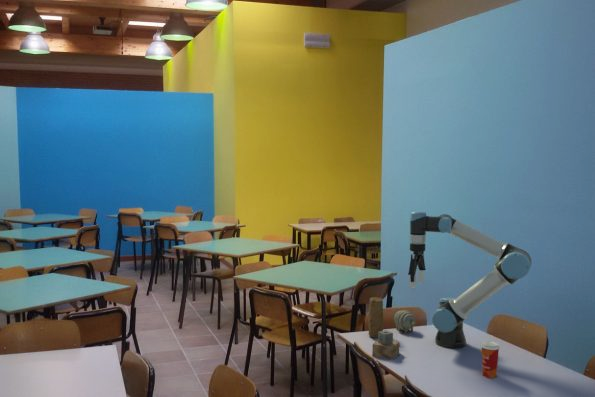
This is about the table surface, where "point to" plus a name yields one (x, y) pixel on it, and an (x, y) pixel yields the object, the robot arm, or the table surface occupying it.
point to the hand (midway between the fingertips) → (416, 285)
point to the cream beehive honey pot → (404, 320)
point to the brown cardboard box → (385, 350)
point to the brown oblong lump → (375, 316)
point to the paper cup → (489, 359)
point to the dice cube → (385, 337)
